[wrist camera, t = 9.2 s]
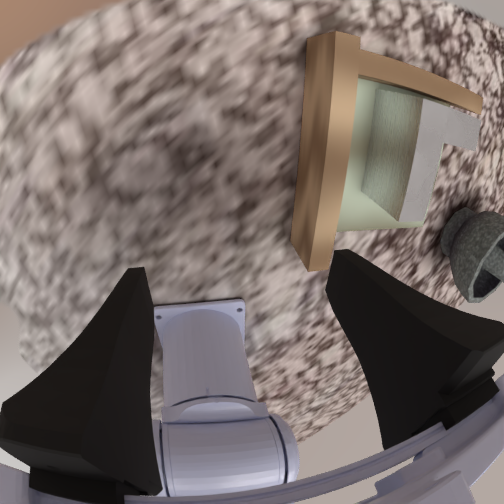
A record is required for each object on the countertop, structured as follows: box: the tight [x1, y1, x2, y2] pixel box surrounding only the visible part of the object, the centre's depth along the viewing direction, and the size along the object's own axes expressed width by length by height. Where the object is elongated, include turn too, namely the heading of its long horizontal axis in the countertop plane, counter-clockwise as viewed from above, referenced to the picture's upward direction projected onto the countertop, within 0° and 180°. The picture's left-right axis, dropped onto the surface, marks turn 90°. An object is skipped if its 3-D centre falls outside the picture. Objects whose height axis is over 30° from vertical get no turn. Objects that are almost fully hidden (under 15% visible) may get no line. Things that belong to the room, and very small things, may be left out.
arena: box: [290, 31, 483, 272], centre depth 18 cm, size 15×14×4 cm
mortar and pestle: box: [440, 207, 504, 303], centre depth 22 cm, size 11×9×12 cm
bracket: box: [361, 89, 481, 222], centre depth 17 cm, size 8×6×5 cm
